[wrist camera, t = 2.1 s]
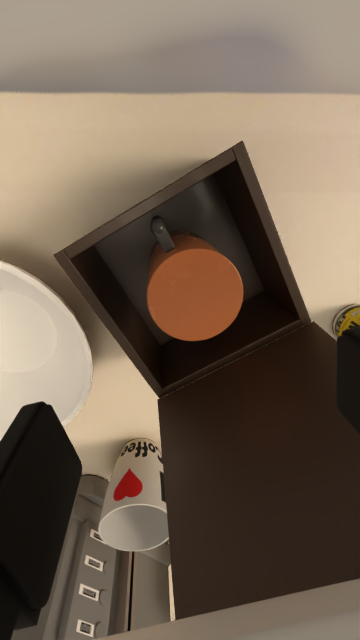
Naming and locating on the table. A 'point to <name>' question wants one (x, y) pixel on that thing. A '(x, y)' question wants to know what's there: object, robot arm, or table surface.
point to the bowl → (40, 349)
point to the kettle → (190, 285)
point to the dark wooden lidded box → (220, 232)
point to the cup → (135, 500)
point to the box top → (261, 478)
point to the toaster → (101, 580)
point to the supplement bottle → (347, 319)
